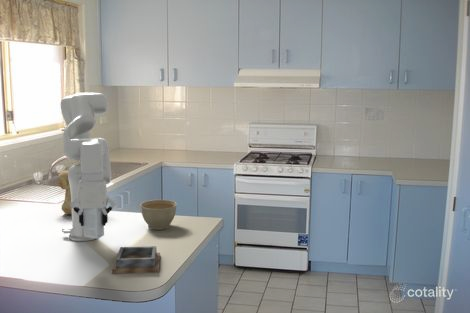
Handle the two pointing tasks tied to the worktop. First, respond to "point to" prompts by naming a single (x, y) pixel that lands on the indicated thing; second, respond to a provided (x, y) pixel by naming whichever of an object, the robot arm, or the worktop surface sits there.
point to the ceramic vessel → (65, 185)
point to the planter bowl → (158, 213)
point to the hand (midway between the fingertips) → (93, 224)
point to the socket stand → (136, 260)
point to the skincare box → (93, 223)
